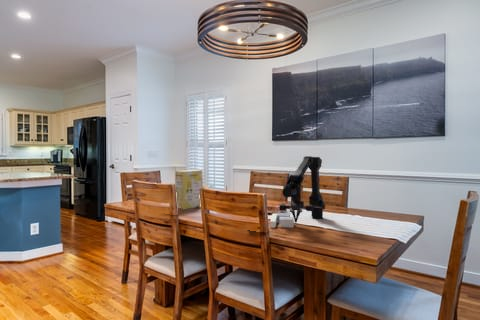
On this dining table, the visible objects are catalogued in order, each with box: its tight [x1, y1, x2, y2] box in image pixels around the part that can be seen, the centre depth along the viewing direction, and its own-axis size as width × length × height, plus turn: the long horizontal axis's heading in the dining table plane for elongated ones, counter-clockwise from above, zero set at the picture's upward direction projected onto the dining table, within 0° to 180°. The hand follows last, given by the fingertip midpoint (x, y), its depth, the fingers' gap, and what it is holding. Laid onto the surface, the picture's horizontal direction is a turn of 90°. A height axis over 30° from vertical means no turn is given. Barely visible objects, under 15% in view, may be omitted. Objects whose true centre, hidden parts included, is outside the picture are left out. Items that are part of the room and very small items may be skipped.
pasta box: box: [174, 169, 203, 210], centre depth 243 cm, size 18×10×28 cm, turn 138°
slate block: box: [276, 212, 291, 224], centre depth 194 cm, size 8×8×4 cm
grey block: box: [278, 216, 295, 228], centre depth 184 cm, size 8×8×4 cm
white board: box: [269, 213, 278, 228], centre depth 189 cm, size 3×22×4 cm, turn 170°
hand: (295, 222), depth 182 cm, fingers closed
